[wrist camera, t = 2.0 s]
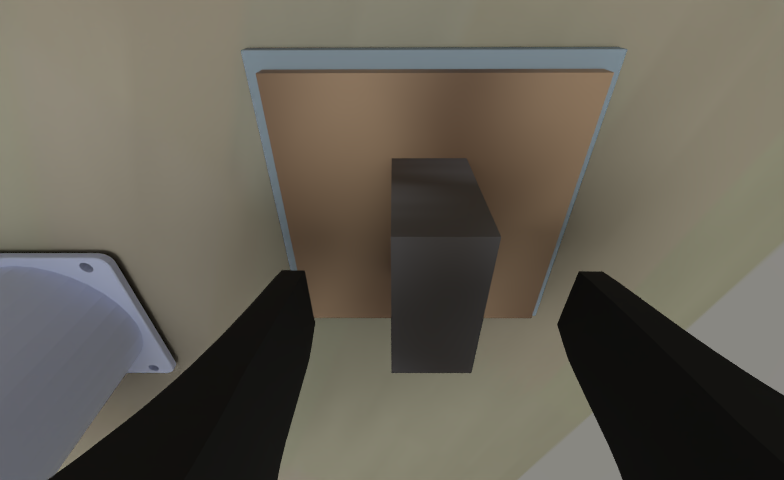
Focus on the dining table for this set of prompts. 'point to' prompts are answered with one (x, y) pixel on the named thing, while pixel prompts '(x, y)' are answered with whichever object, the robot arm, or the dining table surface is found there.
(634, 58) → the dining table surface
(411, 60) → the mat
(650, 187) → the dining table surface
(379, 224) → the lid
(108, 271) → the robot arm
